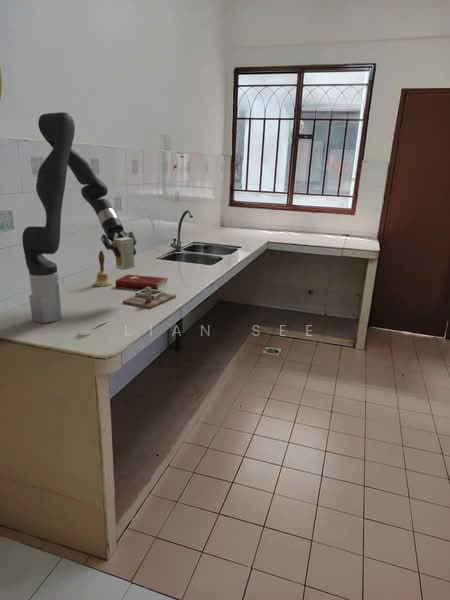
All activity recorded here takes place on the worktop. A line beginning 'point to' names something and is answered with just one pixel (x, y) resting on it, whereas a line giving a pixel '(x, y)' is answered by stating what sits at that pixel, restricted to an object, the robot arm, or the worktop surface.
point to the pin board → (148, 305)
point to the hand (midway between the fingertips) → (126, 255)
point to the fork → (94, 327)
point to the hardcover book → (141, 282)
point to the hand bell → (102, 273)
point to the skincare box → (125, 253)
